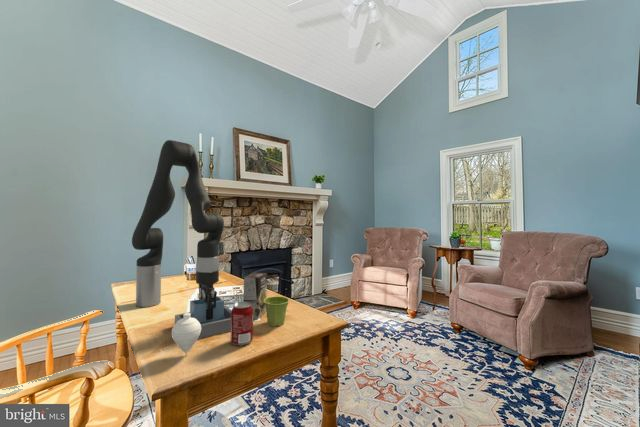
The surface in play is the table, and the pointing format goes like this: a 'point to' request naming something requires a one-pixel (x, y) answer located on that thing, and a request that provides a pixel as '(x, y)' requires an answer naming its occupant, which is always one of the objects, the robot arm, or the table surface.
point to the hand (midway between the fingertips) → (206, 316)
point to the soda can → (241, 323)
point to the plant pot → (276, 310)
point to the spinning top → (186, 332)
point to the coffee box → (256, 292)
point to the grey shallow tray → (213, 324)
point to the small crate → (200, 310)
